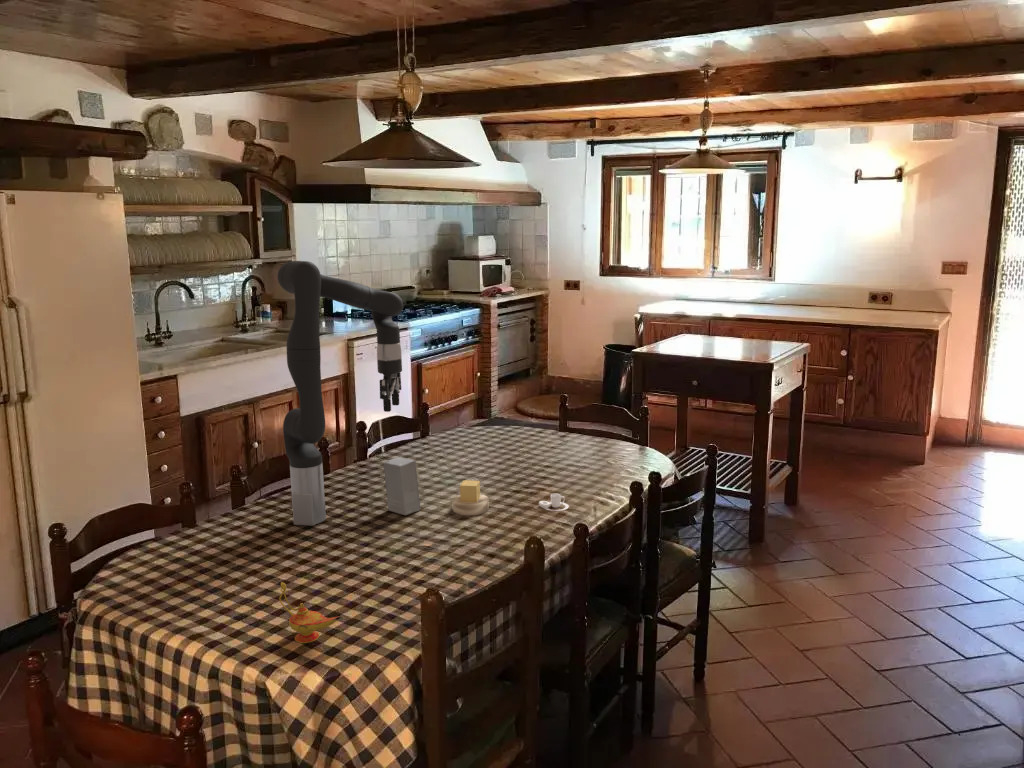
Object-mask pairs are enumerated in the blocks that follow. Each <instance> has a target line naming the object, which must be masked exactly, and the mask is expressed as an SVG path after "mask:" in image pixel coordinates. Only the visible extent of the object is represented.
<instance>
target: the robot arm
mask: <svg viewBox="0 0 1024 768" xmlns="http://www.w3.org/2000/svg"><path fill="white" fill-rule="evenodd" d="M277 282H278V285H280V287H281V289H282V290H284V291H286V292H287V293H289V294H293V295H294V316H293V320H292V323H291V326H290V329H289V331H288V334H287V338H286V363H287V369H288V371H289V375H290V377H291V378H292V381H293V383H294V385H295V387H296V390H297V394H298V398H299V399H298V400H299V408H298V407H295V408H292V409H290V410H289V411H288V412H287V413H286V415H285V416H284V419H283V425H282V431H283V441H284V442H283V443H284V449H285V454H286V457H287V459H288V460H289V471H290V472H289V474H290V486H291V487H290V488H291V489H290V490H291V501H292V502H291V507H292V519H293V525H295V526H311V527H312V526H315V525H316V524H321V523H322V522H324V521H325V520H326V519H327V515H326V514H327V513H326V497H325V484H324V469H323V468H324V467H323V466H324V465H323V464H324V463H323V455H322V452H321V451H319V449H318V448H317V447H316V446H315V444H316V443H319V442H320V440H321V439H323V436H324V434H325V431H326V416H325V409H324V401H323V393H322V392H323V391H322V376H321V375H322V372H321V370H322V369H321V361H322V360H321V357H322V356H321V341H320V340H321V338H320V337H321V336H320V302H321V298H325V299H329V300H331V301H335V302H338V303H340V304H343V305H347V306H350V307H354V308H357V309H362V310H366V311H367V310H368V311H370V312H371V315H372V319H373V322H374V326H375V329H376V342H377V343H376V345H377V346H376V361H377V362H376V363H377V373H378V374H381V375H383V378H382V379H379V399H380V400H382V402H383V412H388V413H389V412H391V411H392V406H399V405H400V393H401V391H402V376H401V372H403V362H402V360H403V359H402V346H401V334H400V332H401V331H400V327H399V325H398V324H397V323H395V322H394V321H393V318H392V317H395V316H396V317H397V316H399V315H400V314H401V313H402V312H403V310H404V302H403V299H402V297H401V296H399V295H398V294H396V293H393V292H390V291H386V290H382V289H377V288H373V287H371V286H368V285H365V284H363V283H362V284H361V283H359V282H355V281H351V280H347V279H343V278H336V277H331V276H327V275H324V274H321V272H320V269H319V267H318V266H317V265H316V264H315V263H314V262H312V261H305V260H291V261H287V262H285V263H283V264H282V265H281V266H280V267H279V269H278V271H277Z"/></svg>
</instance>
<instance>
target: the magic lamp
mask: <svg viewBox="0 0 1024 768" xmlns="http://www.w3.org/2000/svg"><path fill="white" fill-rule="evenodd" d="M286 590H287V584H286V583H285V582H282V581H281V582H280V591H281V594H280V595H279V599H278V600H279V603H280V604H281V605H282V607H283V608H284V609H285V610H286V611H287V612H288V613H289V614H290V617H288V625H289V627H290V628H291V630H293V631H295V632H297V634H296V635H295V636H294V641H295V642H297V643H301V644H308V643H313V642H314V641H317V640H318V639H319V638H320V633H319V632H318V631H320V630H324V629H326V628H327V627H330V626H332V625H333V624H335V623H336V622H338V621H344V620H345V617H344V616H333V617H325V616H324V615H323V614H322V613H321V612H319V611H314V610H309V609H308V608H307V607H306V606H305V605H304V603H303V602H302V603H300V604H299V606H298V607H297V608H293V607H292V606H291V604H290V603H289V601H288V598H287V596H286V593H285V592H286ZM282 596H284V599H285V600H286V604H287V605H288V607H289V608H290V609H291V610H292V611H296V613H293V612H292V611H291V610H289V608H288V607H286V605H284V603H283V602H282Z"/></svg>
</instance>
